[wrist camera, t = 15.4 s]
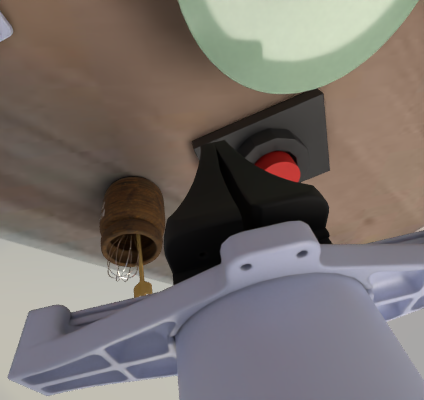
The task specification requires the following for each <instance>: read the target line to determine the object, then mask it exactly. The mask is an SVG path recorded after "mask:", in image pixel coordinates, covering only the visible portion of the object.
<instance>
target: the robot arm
mask: <svg viewBox="0 0 424 400" xmlns="http://www.w3.org/2000/svg"><path fill="white" fill-rule="evenodd" d="M12 34H13V28H12V26H11V24H10V23H9V22H8V20H7V19H6V18H5V17H4V15H3V14H2V13H1V11H0V42H1V41H3V40H5V39H6V38H8V37H10V36H11V35H12ZM200 149H201V154H200V161H199V166H198V170H197V173H196V176H195V179H194V182H193V184H192V186H191V188H190V190H189V192H188V194H187V196H186V197H185V199H184V200H183V202H182V203H181V205H180V206H179V207H178V209H177V210H176V211H175V212H174V213H173V214H172V215H171V216H170V217H169V218H168V219H167V223H166V228H165V234H164V252H165V257H166V259H167V261H168V264H169V266H170V268H171V271H172V273H173V284H174V285H173V286H172V287H169V288H167V289H165V290H163V291H160V292H157V293H153V294H149V295H144V296H140V297H136V298H132V299H127V300H123V301H119V302H114V303H110V304H106V305H101V306H98V307H93V308H89V309H84V310H80V311H76V312H70V310H69V309H68V308H67V307H65V306H63V305H52V306H48V307H44V308H39V309H36V310H31V311H29V313H28V316H27V319H26V322H25V325H24V328H23V331H22V334H21V337H20V341H19V344H18V347H17V350H16V353H15V356H14V359H13V362H12V365H11V368H10V371H9V374H8V379H9V380H11V381H13V382H16V383H18V384H20V385H23V386H25V387H27V388H30V389H32V390H34V391H36V392H39V393H41V394H43V395H46V396H50V395H54V394H58V393H63V392H68V391H72V390H78V389H83V388H89V387H95V386H102V385H108V384H116V383H124V382H131V381H139V380H147V379H155V378H163V377H170V376H178V385H179V399H180V400H424V380H423V378H422V377H421V375H420V374H419V372H418V371H417V369H416V367H415V366H414V364H413V363H412V361H411V360H410V358H409V356H408V355H407V353H406V352H405V350H404V349H403V347H402V346H401V344H400V342H399V341H398V339H397V338H396V336H395V335H394V333H393V332H392V330H391V328H390V327H389V325H388V324H387V321H390V320H393V319H395V318H398V317H401V316H404V315H406V314H409V313H412V312H415V311H418V310H420V309H423V308H424V230H423V231H419V232H414V233H410V234H406V235H402V236H397V237H393V238H389V239H384V240H380V241H376V242H372V243H367V244H332V243H331V241H330V240H329V238H328V237H329V232H328V231H327V229H326V228H325V227H326V223H327V218H328V214H329V206H328V203H327V201H326V200H325V199H324V197H323V196H322V195H321V193H320V192H319V191H318V190H317V189H316V188H315V187H314V186H313V185H308V184H303V183H298V182H294V181H291V180H287V179H284V178H281V177H278V176H276V175H274V174H271V173H269V172H267V171H265V170H263V169H261V168H259V167H257V166H256V165H254V164H253V163H251V162H250V161H248V160H247V159H246V158H244V157H243V156H242V155H241V154H239V153H238V152H237V151H236V150H235V149H234V148H233V147H232V146H230V145H229V144H228V143H227V142H226V141H225V140H222V141H217V142H213V143H208V144H204V145H201V147H200Z"/></svg>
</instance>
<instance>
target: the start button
mask: <svg viewBox="0 0 424 400" xmlns="http://www.w3.org/2000/svg"><path fill="white" fill-rule="evenodd" d="M255 165H256V166H257V167H259V168H261V169H263V170H265V171H267V172H269V173H271V174H274V175H276V176H278V177H281V178H284V179H287V180H291V181H294V182H298V181H299V179H300V170H299V168H298V166H297V165H296V163H295V162H294V160H293V159H292V158H291V156H290V155H289V154H287V153H285V152H282V151H273V152H270V153H267V154H265V155H263V156H262V157H261V158H259V159H258V160H257V162H256V163H255Z"/></svg>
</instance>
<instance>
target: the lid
mask: <svg viewBox="0 0 424 400" xmlns="http://www.w3.org/2000/svg"><path fill="white" fill-rule="evenodd" d="M177 1H178V4H179V7H180V10H181V13H182V15H183V17H184V19H185V22H186V24H187V26H188V28H189V30H190V32H191V34H192V36H193V37H194V39H195V41H196V42H197V44H198V46H199V47H200V49H201V50H202V51H203V52H204V54H205V55H206V56H207V57H208V59H209V60H210V61H211V62H212V63H213V64H214V65H215V66H216V67H217V68H218V69H219V70H220V71H221V72H222V73H224V74H225V75H227V76H228V77H229V78H231V79H232V80H234V81H235V82H237V83H239V84H241V85H243V86H245V87H247V88H250V89H253V90H256V91H260V92H265V93H271V94H293V93H301V92H305V91H309V90H313V89H316V88H319V87H322V86H324V85H327V84H329V83H331V82H333V81H335V80H337V79H339V78H341V77H343V76H344V75H346V74H347V73H349V72H351V71H352V70H354V69H355V68H357V67H358V66H359V65H361V64H362V63H363V62H364V61H366V60H367V59H368V58H370V57H371V56H372V55H373V54H374V53H375V52H376V51H377V50H378V49H379V48H380V47H382V46H383V45H384V43H385V42H386V41H387V40H388V39H389V38H390V37H391V36H392V35H393V34H394V33H395V32H396V30H397V29H398V28H399V27H400V25H401V24H402V23H403V22H404V20H405V19H406V18H407V17H408V15H409V14H410V12H411V11H412V9H413V8H414V7H415V5H416V4H417V2H418V1H419V0H177Z"/></svg>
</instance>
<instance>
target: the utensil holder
mask: <svg viewBox="0 0 424 400" xmlns="http://www.w3.org/2000/svg"><path fill="white" fill-rule="evenodd" d="M164 230H165V212H164V201H163V196H162V193H161V191H160V189H159V188H158V187H157V186H156V185H155V184H154V183H153V182H151V181H149V180H147V179H144V178H140V177H126V178H122V179H120V180H117V181H116V182H114V183H113V184H112V185H111V186H110V187H109V188H108V190H107V191H106V194H105V197H104V200H103V206H102V211H101V218H100V233H101V236H102V237H101V251H102V254H103V256H104V257H105V258H106V259H107V260H108V261H110V262H111V263H113V264H116V268H117V265H119V266H124V267H125V268H126V267H130V268H131V267H134V268H135V267H137V266H139V274H140V282H139V283H138V284H137V285H136V286H135V288H134V298H136V297H139V296H144V295H146V294H148V295H149V294H152V285H151V284H150V283H149V282H145V281H144V272H143V265H145V264H148V263H150V262H152V261H153V260H155V259H156V258H157V257H158V256H159V254H160V252H161V249H162V243H163V239H162V236H163V234H164ZM110 262H109V265H110ZM107 265H108V262H107ZM119 266H118V269H119ZM108 269H109V266H108ZM118 269H117V273H119V272H118ZM109 270H110V269H109ZM124 270H125V269H124ZM133 270H134V269H133ZM133 270H132V271H133ZM137 270H138V267H137ZM110 271H111V270H110ZM132 271H131V272H132ZM123 272H124V271H123ZM131 272H130V270H129V273H131ZM111 273H112V272H111ZM129 273H128V274H129ZM136 273H137V271H136ZM136 273H135V274H136ZM113 274H114V273H113ZM122 274H123V273H122ZM108 275H109V274H108ZM114 275H115V274H114ZM109 276H110V275H109ZM115 276H116V281H117V277H118V278H119V280H120V278H121V279H122V277H119V276H120V275H119V276H117V275H115ZM110 277H111V276H110ZM123 277H124V276H123ZM132 277H133V276H132ZM130 278H131V277H130ZM119 280H118V281H119ZM127 280H128V278H127Z"/></svg>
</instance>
